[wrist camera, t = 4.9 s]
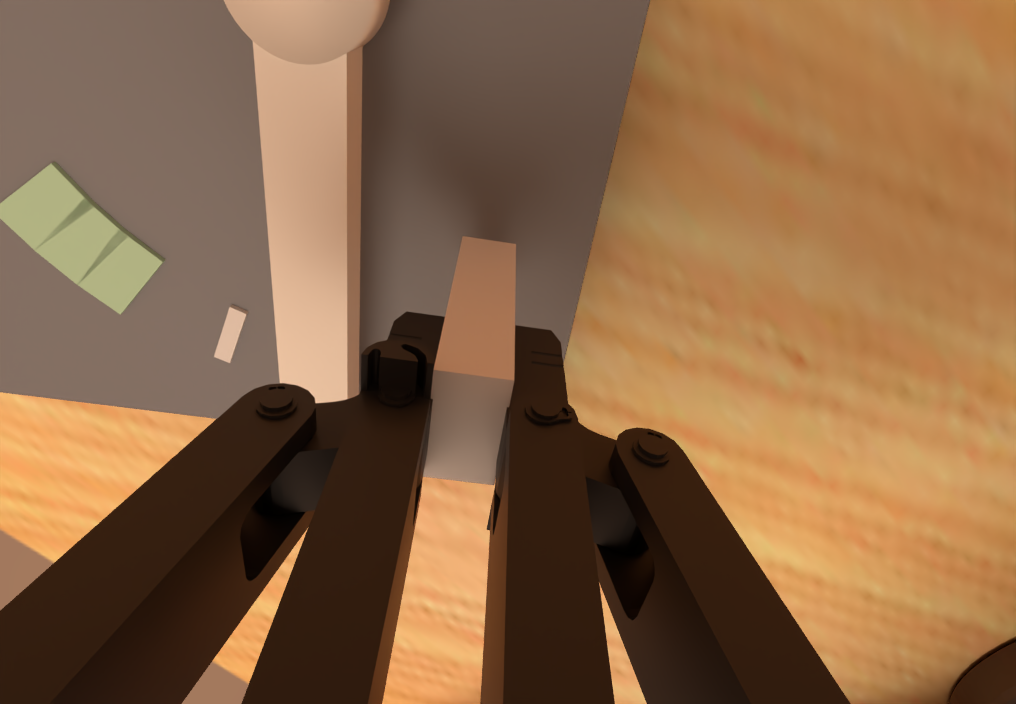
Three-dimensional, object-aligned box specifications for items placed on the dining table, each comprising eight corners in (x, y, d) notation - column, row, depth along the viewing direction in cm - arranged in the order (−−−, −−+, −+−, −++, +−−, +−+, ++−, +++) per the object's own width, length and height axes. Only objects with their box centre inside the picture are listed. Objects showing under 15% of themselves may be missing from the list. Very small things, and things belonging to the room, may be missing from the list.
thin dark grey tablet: (653, -58, 16) (685, -67, 13) (539, 435, 26) (542, 499, 23) (-194, -211, 15) (-392, -264, 12) (21, 370, 24) (-55, 428, 21)
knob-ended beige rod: (241, -126, 12) (202, -140, 11) (393, -99, 12) (376, -109, 11) (285, 441, 21) (267, 477, 19) (375, 452, 21) (364, 488, 19)
